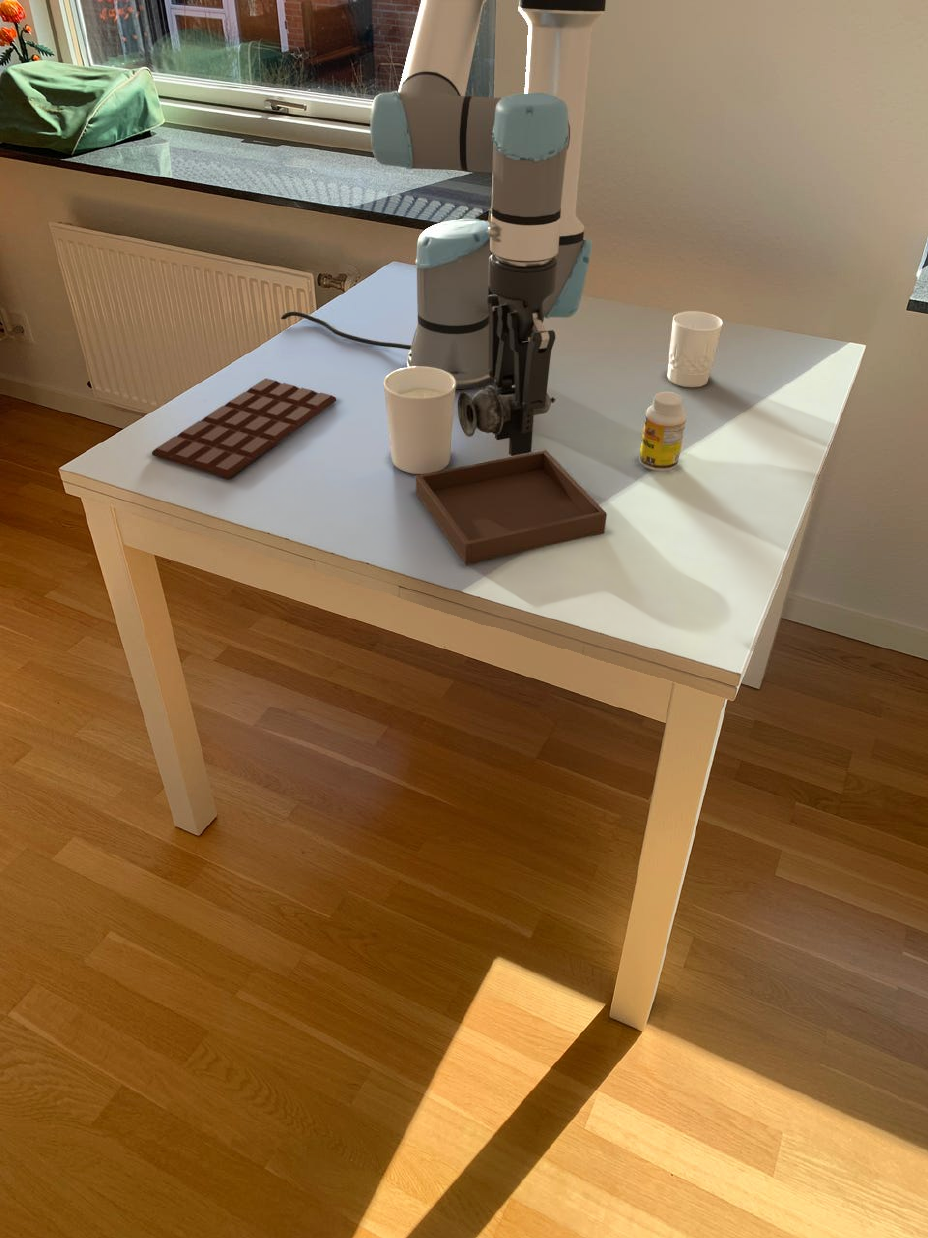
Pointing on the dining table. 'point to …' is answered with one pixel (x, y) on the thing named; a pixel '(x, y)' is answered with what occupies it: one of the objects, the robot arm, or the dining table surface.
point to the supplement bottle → (663, 432)
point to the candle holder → (420, 418)
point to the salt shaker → (488, 410)
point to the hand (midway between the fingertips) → (512, 444)
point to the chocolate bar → (244, 428)
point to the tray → (509, 506)
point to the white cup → (693, 347)
